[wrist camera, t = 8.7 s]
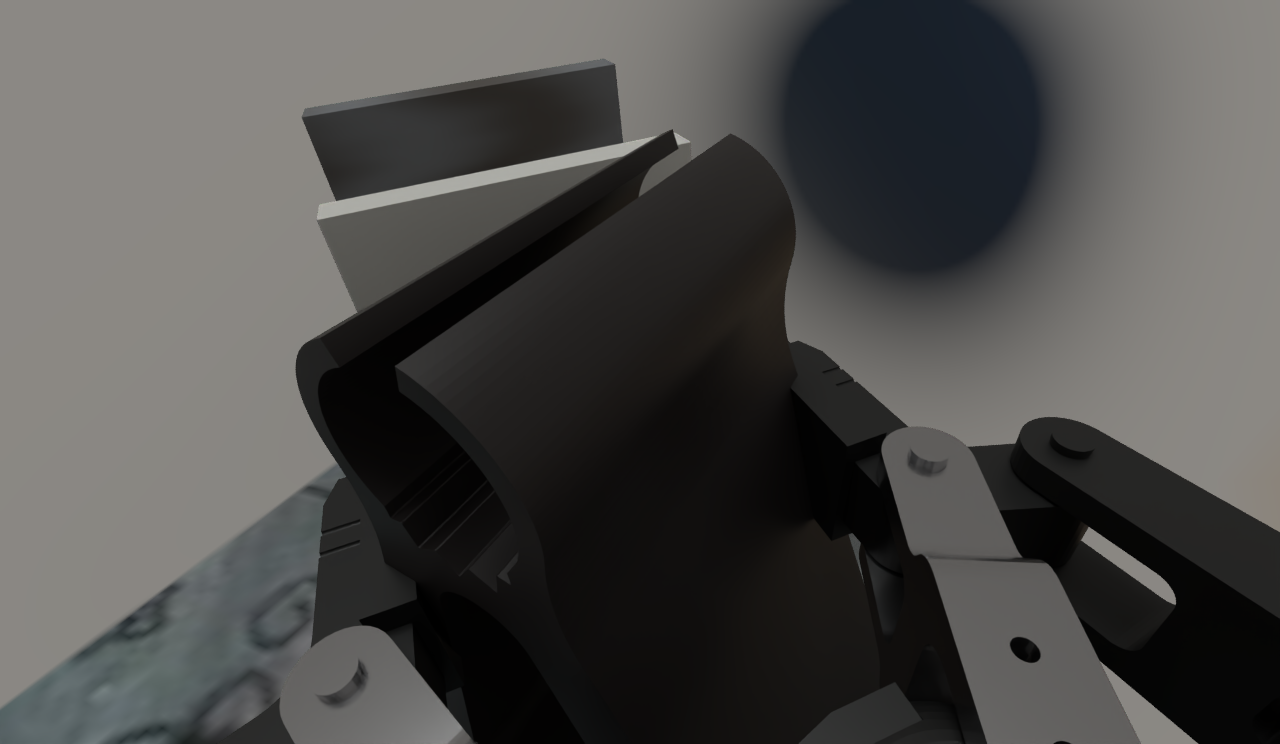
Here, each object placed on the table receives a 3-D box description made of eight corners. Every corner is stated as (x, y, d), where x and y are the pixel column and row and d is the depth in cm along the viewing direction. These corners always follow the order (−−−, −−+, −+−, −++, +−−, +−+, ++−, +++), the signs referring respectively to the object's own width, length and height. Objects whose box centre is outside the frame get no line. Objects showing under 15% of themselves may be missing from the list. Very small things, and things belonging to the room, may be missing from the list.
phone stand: (426, 724, 14) (102, 256, 7) (578, 536, 18) (476, 113, 11) (801, 1016, 10) (1015, 609, 2) (892, 688, 14) (1076, 159, 6)
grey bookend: (416, 665, 18) (133, 225, 9) (404, 499, 23) (218, 123, 15) (770, 528, 21) (802, 93, 12) (686, 408, 26) (668, 47, 17)
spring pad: (488, 608, 17) (316, 220, 10) (484, 586, 18) (319, 204, 11) (767, 504, 20) (792, 121, 12) (755, 487, 20) (772, 113, 13)
